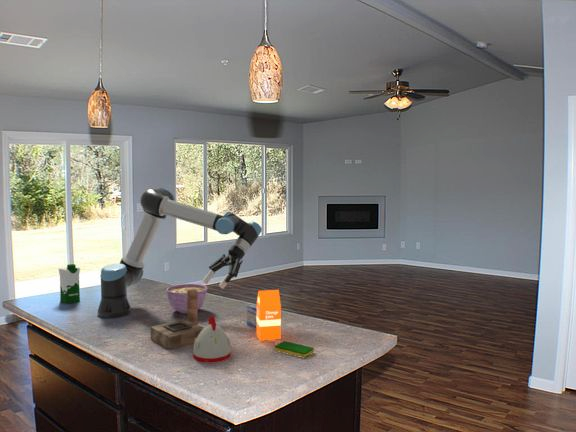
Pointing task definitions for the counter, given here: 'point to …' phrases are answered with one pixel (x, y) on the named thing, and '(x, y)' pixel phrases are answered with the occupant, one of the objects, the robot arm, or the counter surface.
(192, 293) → the terracotta peg
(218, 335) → the kitchen timer
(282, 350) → the dish sponge
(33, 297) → the counter surface
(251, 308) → the medicine box
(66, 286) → the milk carton
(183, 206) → the robot arm
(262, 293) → the orange juice
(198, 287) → the bowl of food
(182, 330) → the walnut socket block
